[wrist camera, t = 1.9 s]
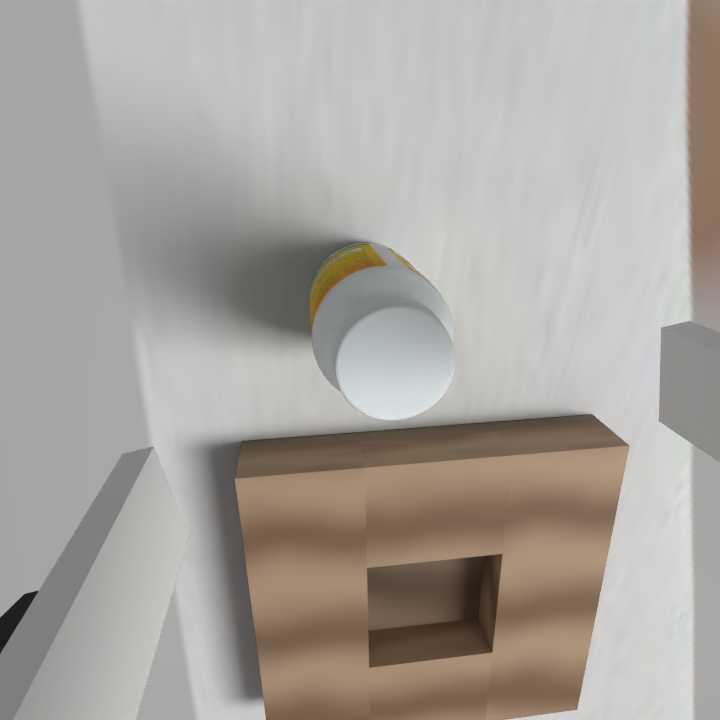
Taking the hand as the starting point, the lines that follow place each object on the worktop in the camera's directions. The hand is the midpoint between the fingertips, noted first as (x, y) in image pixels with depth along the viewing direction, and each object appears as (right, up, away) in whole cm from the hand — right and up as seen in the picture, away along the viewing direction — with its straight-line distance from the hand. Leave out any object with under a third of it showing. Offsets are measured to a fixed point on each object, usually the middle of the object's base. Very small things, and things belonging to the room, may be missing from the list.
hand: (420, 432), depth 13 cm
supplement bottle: (-2, +5, +12) cm, 14 cm away
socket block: (+2, -11, +19) cm, 22 cm away
